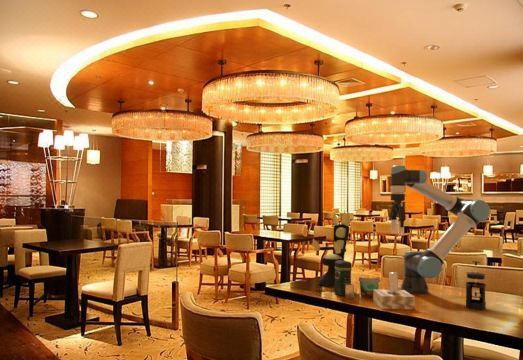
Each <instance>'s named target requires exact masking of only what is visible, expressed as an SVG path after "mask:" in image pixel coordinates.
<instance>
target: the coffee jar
mask: <svg viewBox="0 0 523 360" xmlns="http://www.w3.org/2000/svg"><path fill="white" fill-rule="evenodd" d="M352 269H353V267H352V262H350V261H348V260H345V259H344V260H337V261H336V262H335V285H334V287H333V291H334V294H335V295H338V296H344V297H345V289H346V284H352Z"/></svg>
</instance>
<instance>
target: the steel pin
mask: <svg viewBox="0 0 523 360" xmlns="http://www.w3.org/2000/svg"><path fill="white" fill-rule="evenodd" d="M388 290H389V294H398V290H399V272H396V271H392V272H391V271H390V272H388Z"/></svg>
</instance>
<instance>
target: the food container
mask: <svg viewBox="0 0 523 360" xmlns="http://www.w3.org/2000/svg"><path fill="white" fill-rule="evenodd" d="M358 281H359V288H360V289H359V290H360V291H359V292H360V296H362V297H367V298H373V289H375V290H379V284H380V282H381V279H380V276H377V277H361V276H359V278H358Z"/></svg>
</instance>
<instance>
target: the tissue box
mask: <svg viewBox="0 0 523 360" xmlns="http://www.w3.org/2000/svg"><path fill="white" fill-rule="evenodd" d="M372 299H373V300H372V301H373V303H374V304H375V305H377V306H378V308H380V309H382V310H384V309H385V310H414V309H416V308H415V307H416V297H415V296H414V295H413V294H412V293H408V292H406V291H405V290H401V289H398V294H389V289H378V290H375V289H373V297H372Z"/></svg>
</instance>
